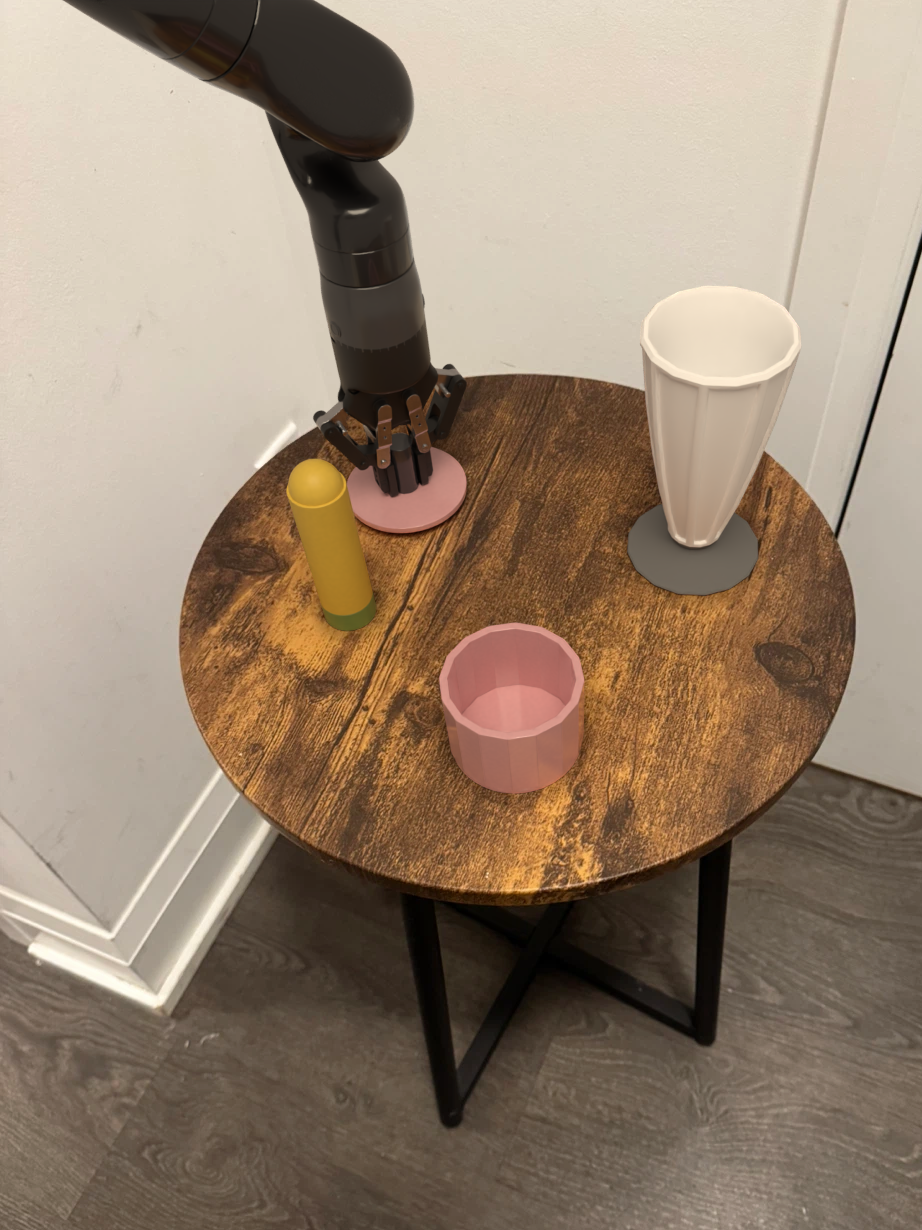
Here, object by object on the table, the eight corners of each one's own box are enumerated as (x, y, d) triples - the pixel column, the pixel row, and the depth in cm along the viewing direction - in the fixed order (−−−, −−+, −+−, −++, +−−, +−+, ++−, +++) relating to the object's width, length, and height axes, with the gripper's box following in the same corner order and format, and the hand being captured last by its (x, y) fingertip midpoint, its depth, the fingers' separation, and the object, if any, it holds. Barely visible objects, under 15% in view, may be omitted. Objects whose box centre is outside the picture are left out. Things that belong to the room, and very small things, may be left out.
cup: (785, 564, 89) (837, 348, 71) (672, 615, 86) (696, 404, 68) (710, 484, 95) (741, 265, 77) (602, 529, 92) (608, 313, 74)
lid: (350, 545, 92) (337, 493, 86) (344, 462, 98) (332, 408, 93) (474, 529, 92) (468, 476, 87) (460, 447, 98) (454, 393, 93)
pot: (458, 803, 77) (447, 748, 70) (443, 693, 82) (433, 633, 76) (593, 782, 77) (595, 726, 71) (570, 675, 83) (569, 614, 77)
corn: (325, 634, 86) (280, 490, 73) (323, 595, 89) (279, 449, 75) (378, 627, 86) (342, 482, 73) (374, 588, 89) (339, 441, 76)
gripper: (436, 264, 83) (456, 435, 98) (273, 318, 80) (318, 487, 94) (478, 312, 80) (492, 482, 94) (309, 371, 76) (351, 538, 90)
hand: (405, 484), depth 94 cm, fingers closed on lid, 2 cm apart
